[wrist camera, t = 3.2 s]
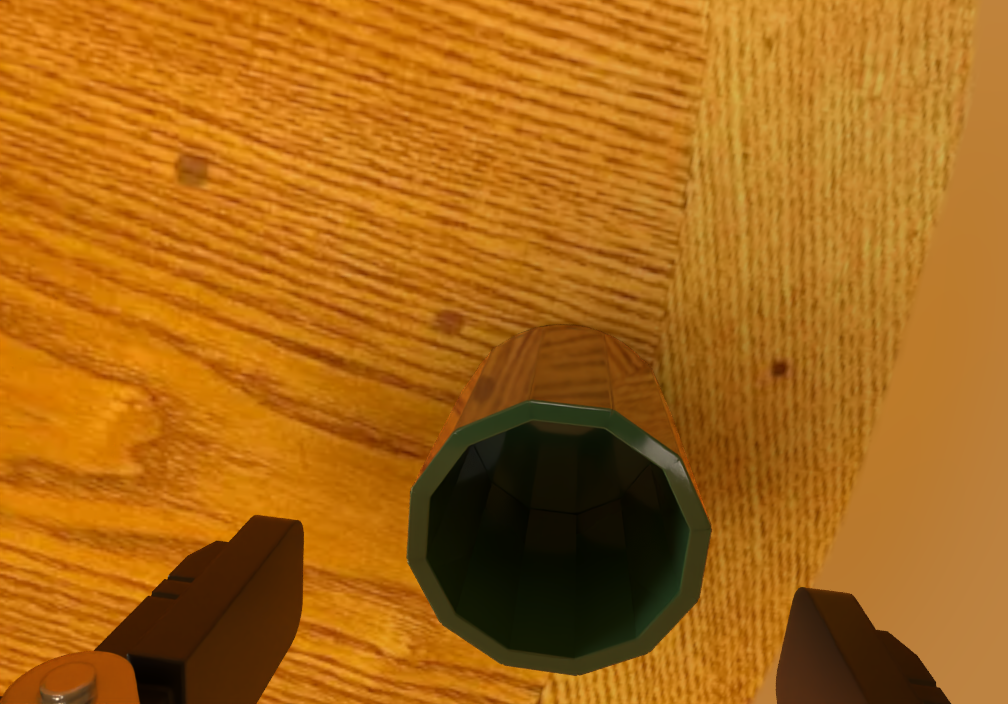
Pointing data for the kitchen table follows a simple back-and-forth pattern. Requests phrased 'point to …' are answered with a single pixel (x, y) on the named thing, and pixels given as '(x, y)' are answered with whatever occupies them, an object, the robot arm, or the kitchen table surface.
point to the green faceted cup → (559, 507)
